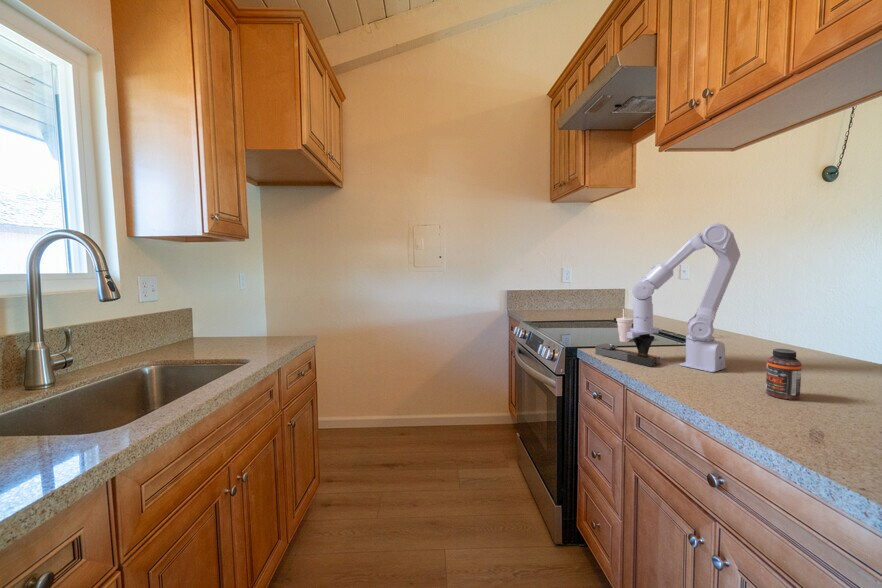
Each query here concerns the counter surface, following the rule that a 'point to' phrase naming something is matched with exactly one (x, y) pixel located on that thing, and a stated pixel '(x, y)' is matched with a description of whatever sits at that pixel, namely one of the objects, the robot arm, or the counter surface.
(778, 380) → the supplement bottle
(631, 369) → the counter surface
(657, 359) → the tong arm
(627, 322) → the smoothie
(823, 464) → the counter surface
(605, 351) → the frame
